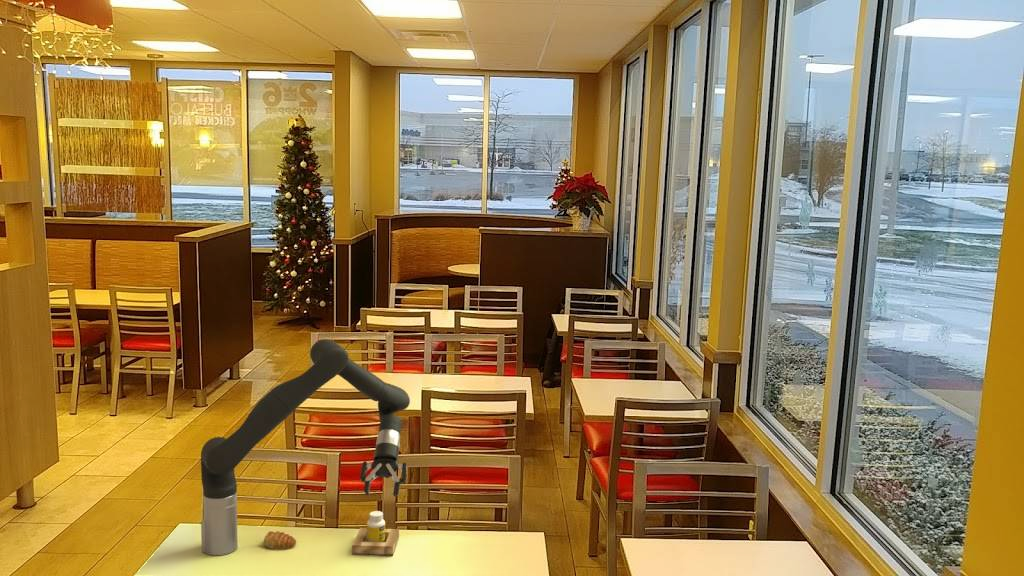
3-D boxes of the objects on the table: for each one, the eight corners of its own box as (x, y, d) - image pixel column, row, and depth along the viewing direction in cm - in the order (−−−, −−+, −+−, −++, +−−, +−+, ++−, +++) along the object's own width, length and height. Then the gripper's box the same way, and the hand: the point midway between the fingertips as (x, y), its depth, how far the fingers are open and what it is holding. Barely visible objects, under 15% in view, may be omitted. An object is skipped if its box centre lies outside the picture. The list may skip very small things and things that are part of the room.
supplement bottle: (381, 549, 238) (381, 518, 237) (363, 547, 239) (364, 516, 238) (387, 541, 244) (387, 510, 242) (370, 539, 245) (370, 509, 243)
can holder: (352, 554, 235) (352, 545, 235) (360, 537, 247) (360, 527, 247) (392, 556, 235) (392, 546, 235) (398, 538, 247) (398, 529, 247)
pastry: (300, 542, 243) (300, 530, 242) (289, 552, 236) (289, 540, 236) (271, 539, 244) (271, 527, 244) (260, 548, 238) (260, 536, 237)
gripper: (363, 440, 254) (356, 489, 244) (408, 442, 253) (402, 490, 244) (367, 451, 260) (359, 499, 250) (410, 452, 259) (405, 500, 250)
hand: (381, 494), depth 247 cm, fingers open, 8 cm apart
